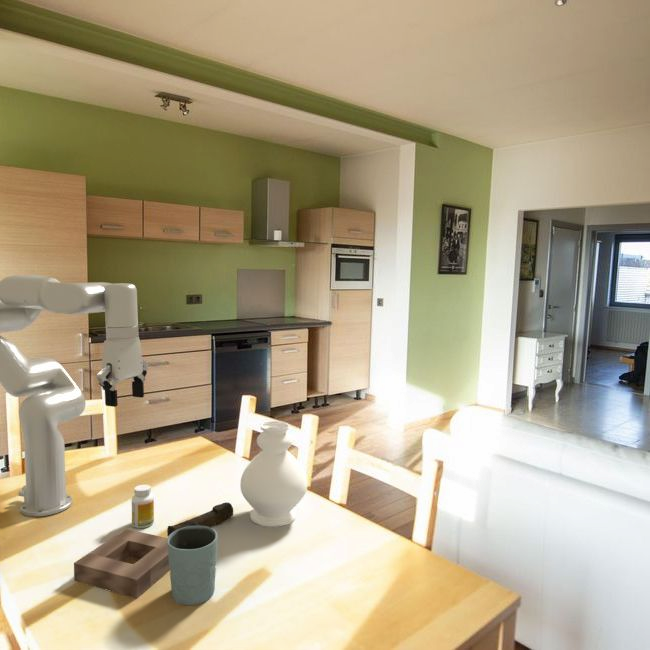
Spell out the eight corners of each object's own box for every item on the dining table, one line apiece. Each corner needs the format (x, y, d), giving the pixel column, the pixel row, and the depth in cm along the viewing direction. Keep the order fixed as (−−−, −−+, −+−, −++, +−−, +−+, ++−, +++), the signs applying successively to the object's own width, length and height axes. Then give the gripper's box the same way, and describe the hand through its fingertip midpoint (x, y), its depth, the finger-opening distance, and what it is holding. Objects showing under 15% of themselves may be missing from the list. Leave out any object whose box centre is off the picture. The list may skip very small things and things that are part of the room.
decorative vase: (265, 539, 133) (266, 440, 130) (227, 513, 146) (228, 423, 143) (320, 518, 145) (322, 427, 142) (280, 495, 158) (281, 412, 155)
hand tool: (174, 545, 129) (174, 527, 129) (166, 539, 132) (166, 521, 131) (239, 520, 143) (239, 504, 142) (230, 515, 145) (230, 499, 145)
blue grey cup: (192, 614, 104) (191, 555, 103) (156, 596, 109) (155, 539, 108) (227, 588, 113) (228, 533, 111) (193, 572, 118) (192, 520, 117)
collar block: (74, 580, 114) (73, 563, 113) (126, 544, 129) (125, 528, 128) (137, 598, 108) (136, 579, 108) (183, 558, 123) (183, 541, 123)
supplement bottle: (158, 521, 141) (158, 485, 140) (145, 530, 136) (144, 493, 135) (141, 517, 143) (140, 481, 141) (127, 526, 137) (126, 489, 136)
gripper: (133, 329, 143) (136, 392, 145) (83, 337, 127) (87, 408, 128) (157, 330, 140) (159, 394, 142) (109, 338, 124) (112, 411, 126)
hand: (125, 401), depth 135 cm, fingers open, 9 cm apart
